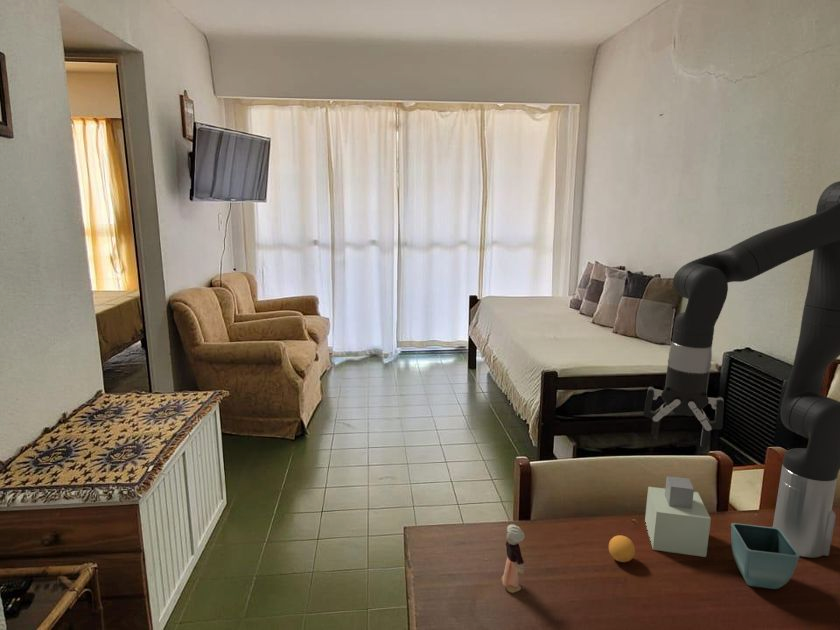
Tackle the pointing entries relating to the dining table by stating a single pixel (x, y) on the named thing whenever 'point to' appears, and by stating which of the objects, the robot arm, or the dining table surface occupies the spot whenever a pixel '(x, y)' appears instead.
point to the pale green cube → (677, 518)
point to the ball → (621, 548)
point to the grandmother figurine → (513, 559)
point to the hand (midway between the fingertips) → (678, 441)
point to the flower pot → (763, 555)
